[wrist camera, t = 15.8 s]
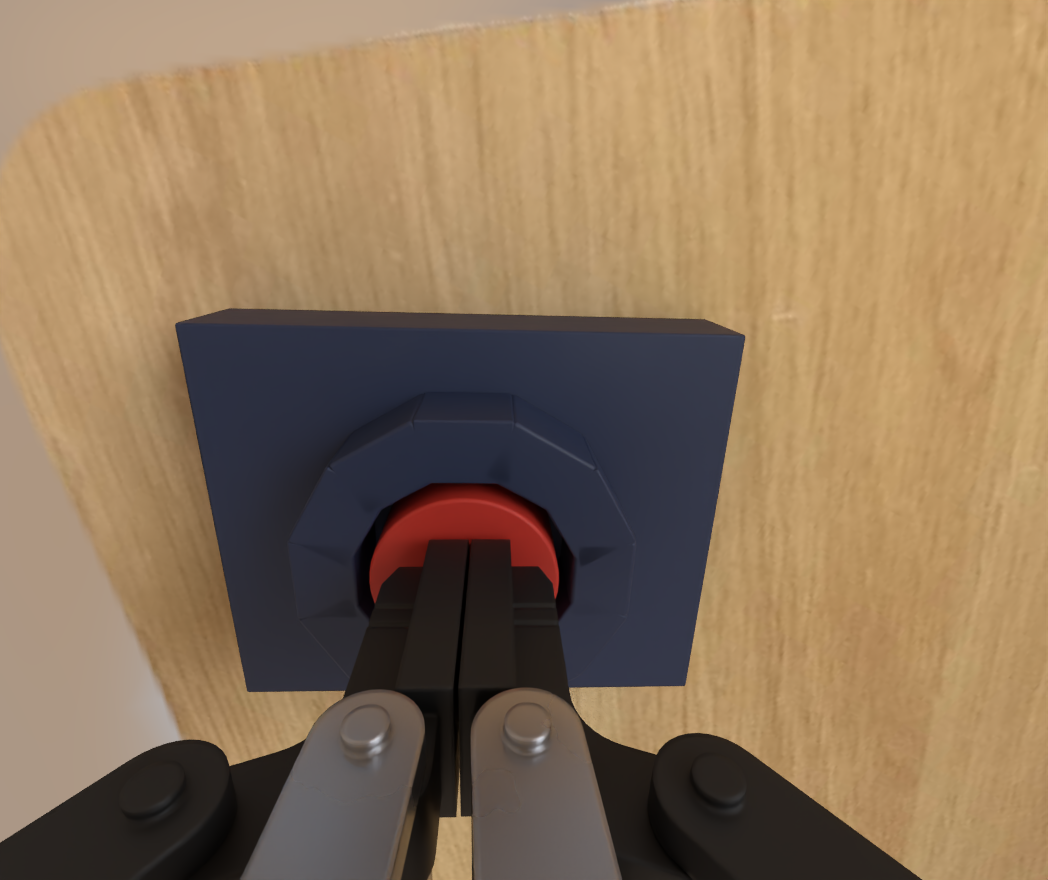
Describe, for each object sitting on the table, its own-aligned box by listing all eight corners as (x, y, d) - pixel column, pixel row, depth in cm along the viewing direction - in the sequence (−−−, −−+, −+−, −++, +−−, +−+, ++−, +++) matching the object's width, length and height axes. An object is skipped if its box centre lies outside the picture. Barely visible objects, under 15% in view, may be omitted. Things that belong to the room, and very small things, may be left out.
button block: (280, 631, 15) (210, 759, 12) (228, 308, 12) (108, 340, 8) (661, 628, 16) (711, 749, 12) (706, 318, 13) (793, 353, 9)
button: (391, 604, 12) (374, 660, 11) (381, 460, 11) (360, 499, 9) (547, 604, 13) (554, 658, 11) (554, 461, 11) (564, 500, 10)
